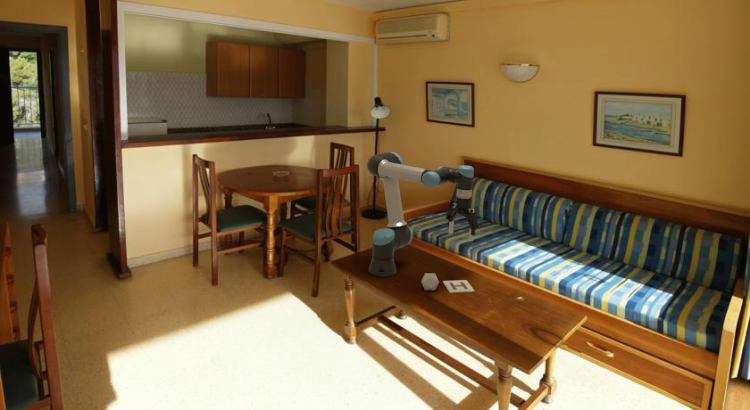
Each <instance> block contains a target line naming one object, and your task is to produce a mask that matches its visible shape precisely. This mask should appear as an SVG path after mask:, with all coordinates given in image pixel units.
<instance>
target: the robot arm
mask: <svg viewBox="0 0 750 410" xmlns="http://www.w3.org/2000/svg"><path fill="white" fill-rule="evenodd" d="M403 163H404V162H403V159H402V157H401V156H400V155H399V153H396V152H395V151H388V152H383V153H379V154H378V153H377V154H373V155H372V156H370V157H369V158H368V161H367V162H366V167H367V171H368V172H369V173H370V175H372V176H374V177H378V178H379V179H380V180H381V181H382V184H383V189H384V199H385V204H386V211H387V220H388V224H386V227H385V228H379V229H377V230H375V231H374V233H372V234H373V237H372V257H371V262H370V264H369V266H368V272H369V274H370V275H373V276H375V277H379V278H380V277H381V278H385V277H386V278H387V277H392V276H394V275H396V274H397V266H396V264H395V259H394V257H395V256H394V255H395V253H394V252H395V251H397V250H399V249H401V248H404V247H407V246H408V245H409V244H410V243H411V242H412V241H413V237H414V235H413V230H412V228H411V227H410V226H409V225H408V222H406V221H405V218H404V211H403V204H402V198H401V190H400V183H399V180H402V181H406V182H407V181H408V182H413V183H417V184H422V185H423V186H425V187H426V188H435V187H437V186H440V185H444V184H447V183H449V184H450V183H451V184H455V185H456V196H455V197H456V198H455V202H453V203H451V206H450V208H449V210H448V213H447V215H446V216H445V220H447V221H448V225H447V226H448V235H451V234H453V233H454V226H455V221H454V219H456V217H457V216H460V215H461V216H464V217H465V220H466V221H467V223H468V225H469V227H470V228H469V229H468V230H469V233H468V242H469V243H470V242H473V241H474V237H475V235H476V229H477V230H478V229H480V226H479V222H478V219H477V214H476V209H475V208H471V205H472V196H473V185H474V172H475V171H474V170H475V169H474V167H473V166H471V165H459V166H458V168H454V167H448V166H445V165H443V166H438V167H437V168H436V169H435V170H432V169H428V168H421V167H416V166H411V165H405V164H403Z"/></svg>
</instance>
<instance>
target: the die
mask: <svg viewBox="0 0 750 410" xmlns="http://www.w3.org/2000/svg"><path fill="white" fill-rule="evenodd" d="M420 282H421V284H422V286H423V289H424V291H436V289H437V288H438V285H439V283H440V281H439V279H438V277H437V274H436V273H426V272H425V273H424V275H423V276H422V279H421V281H420Z"/></svg>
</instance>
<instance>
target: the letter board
mask: <svg viewBox="0 0 750 410" xmlns="http://www.w3.org/2000/svg"><path fill="white" fill-rule="evenodd" d="M442 283H443V284H444V286H445V288H446V290H447V291H448V292H449V293H450V294H456V293H457V294H458V293H459V294H460V293H476V292H475V289H474V287H472V285H471V284H470V283H469V282H468V280H466V279H463V280H462V279H459V280H442Z"/></svg>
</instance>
